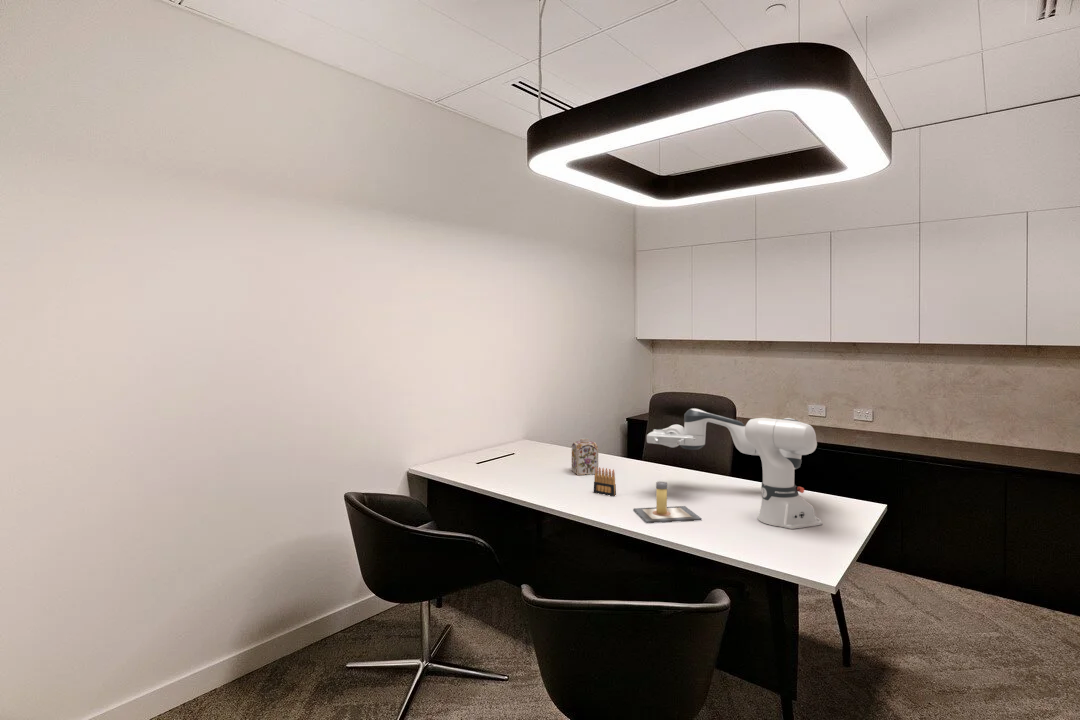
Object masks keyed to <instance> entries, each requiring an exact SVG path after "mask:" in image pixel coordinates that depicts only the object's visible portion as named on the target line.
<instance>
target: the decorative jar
mask: <svg viewBox="0 0 1080 720" xmlns="http://www.w3.org/2000/svg"><path fill="white" fill-rule="evenodd" d="M596 467H597V470H598V471H599V447H598V445H597V443H596V442H595V441H592V440H590V438H587V437H581V438H579V440H578V441H577V440H576V441H573V443H572V445H571V471H572V472H573V473H576V474H577V475H576V474H575V475H576V476H586V475H585V474H595V468H596Z"/></svg>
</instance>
